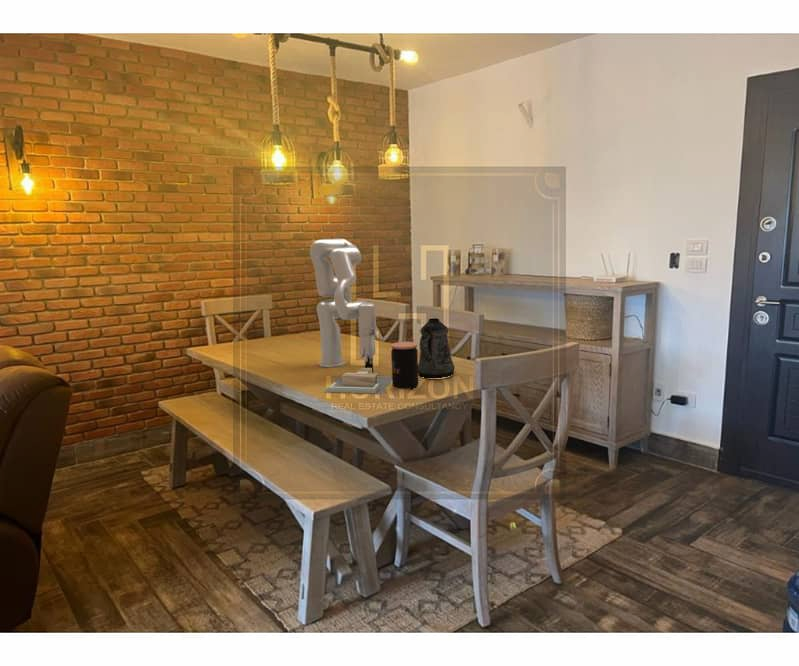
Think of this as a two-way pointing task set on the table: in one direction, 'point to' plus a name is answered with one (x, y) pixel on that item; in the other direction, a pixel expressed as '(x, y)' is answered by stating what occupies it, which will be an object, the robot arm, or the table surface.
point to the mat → (359, 387)
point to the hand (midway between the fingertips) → (369, 372)
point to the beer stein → (435, 351)
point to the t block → (361, 378)
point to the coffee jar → (404, 365)
